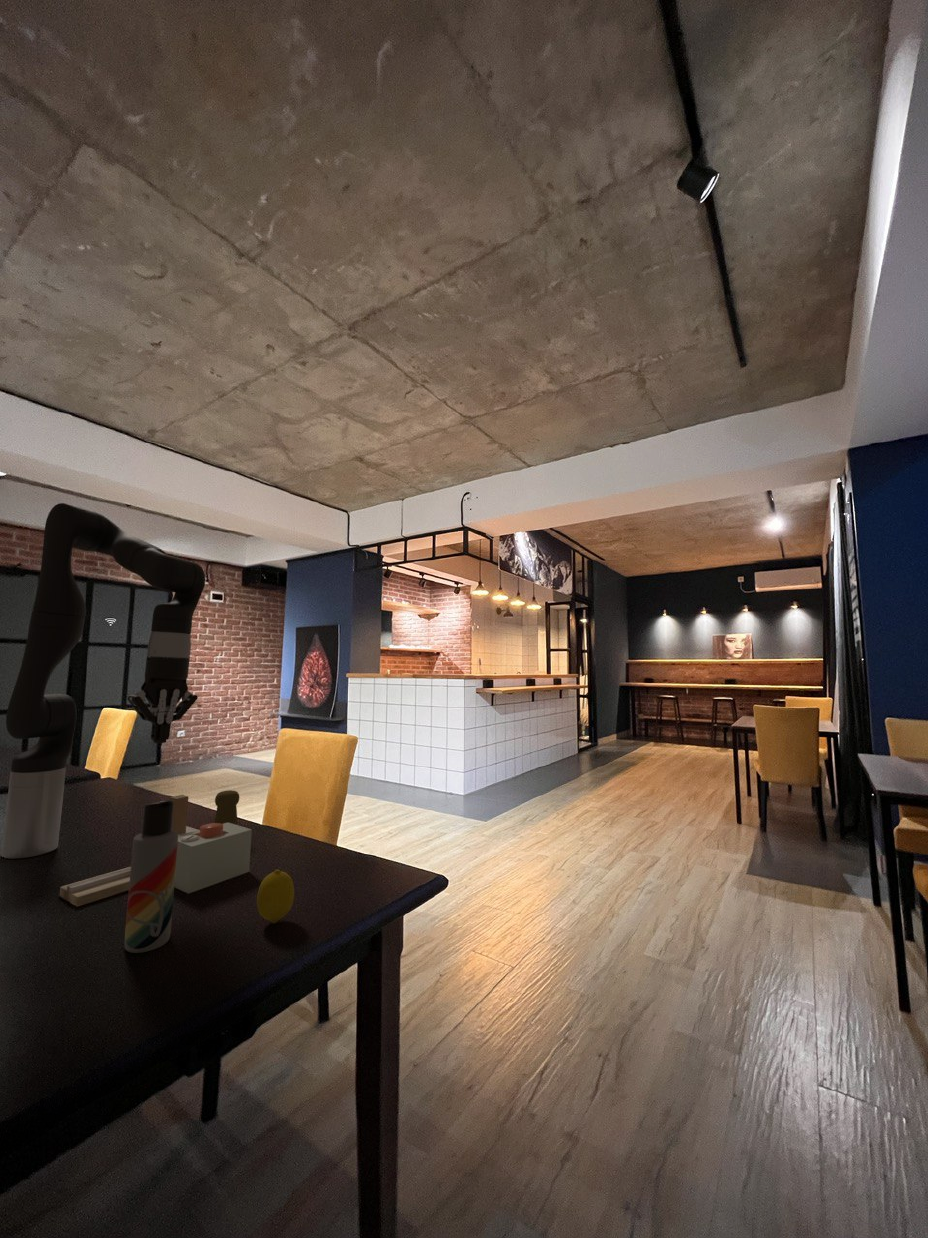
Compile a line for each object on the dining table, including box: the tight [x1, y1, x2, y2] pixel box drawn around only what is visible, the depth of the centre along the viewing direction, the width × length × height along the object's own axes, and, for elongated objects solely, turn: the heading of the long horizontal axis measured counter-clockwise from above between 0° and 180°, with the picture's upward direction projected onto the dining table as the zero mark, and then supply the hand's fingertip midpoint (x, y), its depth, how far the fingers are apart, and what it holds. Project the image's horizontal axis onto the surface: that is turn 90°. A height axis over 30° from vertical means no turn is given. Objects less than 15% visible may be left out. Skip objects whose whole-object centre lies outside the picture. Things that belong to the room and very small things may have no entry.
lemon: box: [256, 869, 295, 924], centre depth 79 cm, size 6×6×8 cm
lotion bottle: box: [123, 799, 178, 954], centre depth 73 cm, size 6×6×20 cm
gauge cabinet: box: [174, 823, 253, 895], centre depth 96 cm, size 8×12×8 cm, turn 148°
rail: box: [58, 866, 131, 907], centre depth 95 cm, size 7×25×4 cm, turn 148°
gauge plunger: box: [199, 822, 223, 839], centre depth 96 cm, size 4×4×6 cm
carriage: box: [169, 794, 198, 835], centre depth 100 cm, size 6×7×11 cm
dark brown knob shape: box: [213, 789, 240, 826], centre depth 116 cm, size 6×6×11 cm
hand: (159, 742), depth 99 cm, fingers closed
